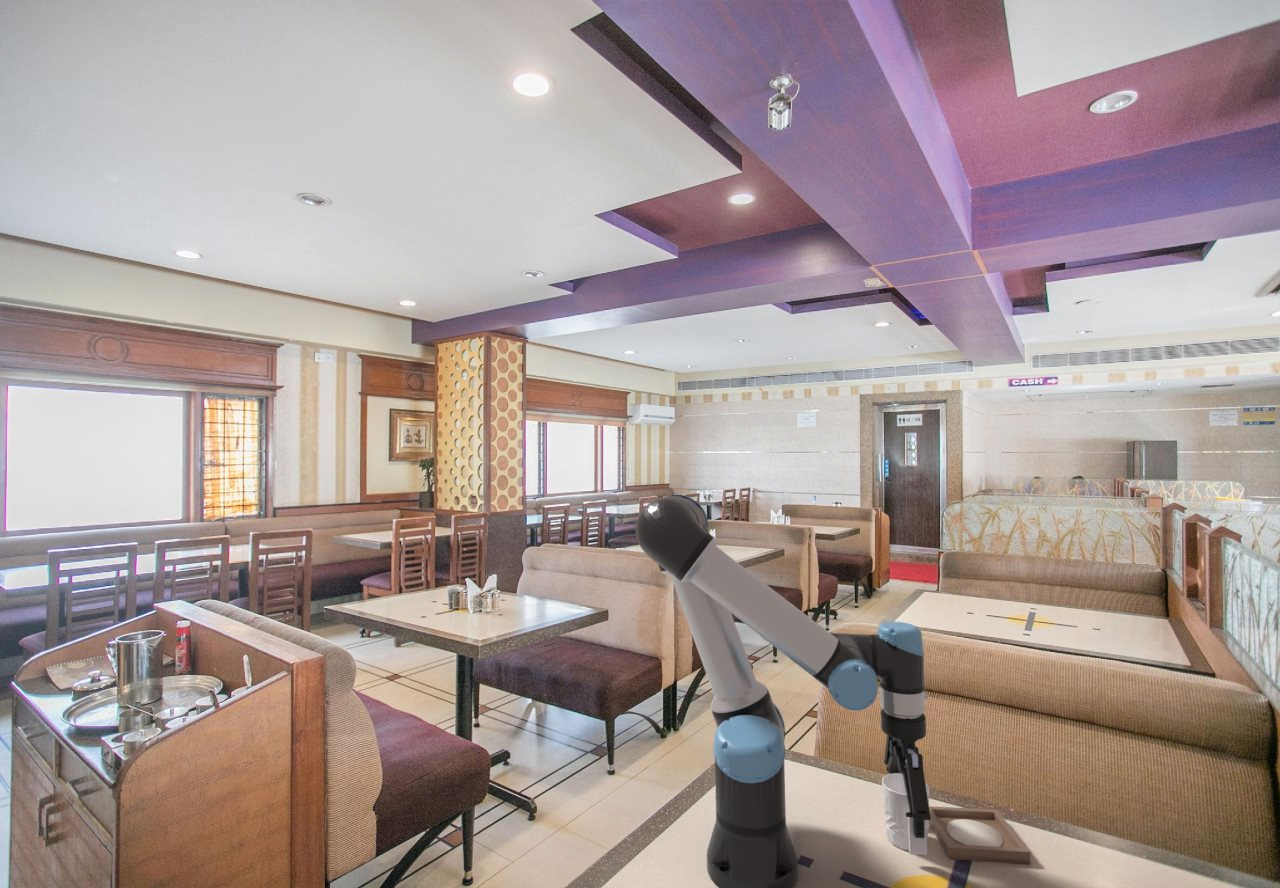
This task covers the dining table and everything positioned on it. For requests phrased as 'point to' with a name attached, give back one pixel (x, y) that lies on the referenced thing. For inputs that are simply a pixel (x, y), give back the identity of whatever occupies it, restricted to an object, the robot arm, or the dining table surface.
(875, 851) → the dining table surface
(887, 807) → the white cup
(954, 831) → the tray
